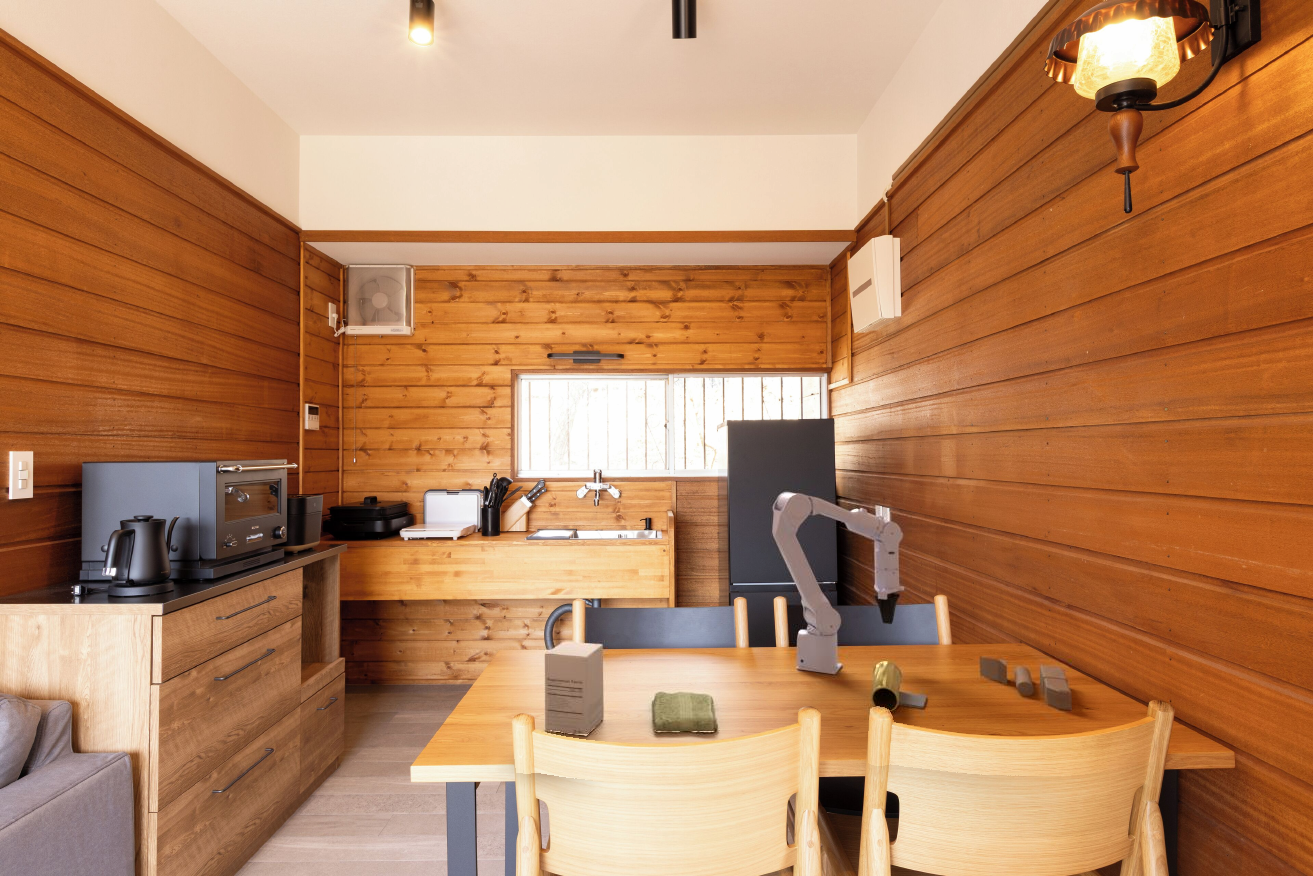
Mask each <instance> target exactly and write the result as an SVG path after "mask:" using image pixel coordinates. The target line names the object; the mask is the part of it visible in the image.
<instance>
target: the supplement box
mask: <svg viewBox="0 0 1313 876" xmlns="http://www.w3.org/2000/svg"><path fill="white" fill-rule="evenodd" d="M603 646H604V645H603V643H602V644H601V643H587V642H586V643H585V642H576V641H562V642H561V643H559V644H558V645H556V646H555V647H553V648H552V649H550V650H548V651H547V652H545V653H544V728H545V730H544V732H545V731H547V732H546V733H554V734H557V733H556V732H554V731H560V732H563V733H564V735H566V734H565V733H572V734H588V733H589V732H590V731H591V730H592V729H593V728H594V727H595V728H596V727H597V726H599V724H600V723H601V722H602V721H603V720H604V719H605V717H604V712H605V710H604V709H605V708H604V705H605V703H604V649H603V648H604V647H603ZM603 718H604V719H603ZM601 720H602V721H601ZM596 725H597V726H596ZM595 728H594V729H595ZM550 730H552V731H550ZM560 734H562V733H560ZM562 735H563V734H562Z"/></svg>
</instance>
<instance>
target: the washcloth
mask: <svg viewBox="0 0 1313 876" xmlns="http://www.w3.org/2000/svg"><path fill="white" fill-rule="evenodd" d="M651 705H652V706H651V707H652V711H651V712H652V715H651V716H652V724H653V728H654V727H655V729H654V731H655V730H656V731H715V730H717V729H718V728H719V726H718V725H719V724H718V721H717V719H716V718H717V717H716V715H715V709H714V699H713V696H712V695H710V694H707V693H695V692H687V691H678V692H673V693H670V692H669V693H668V692H665V691H658V692H657V693H656V692H655V695H654V700H652V702H651ZM656 731H655V732H656Z"/></svg>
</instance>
